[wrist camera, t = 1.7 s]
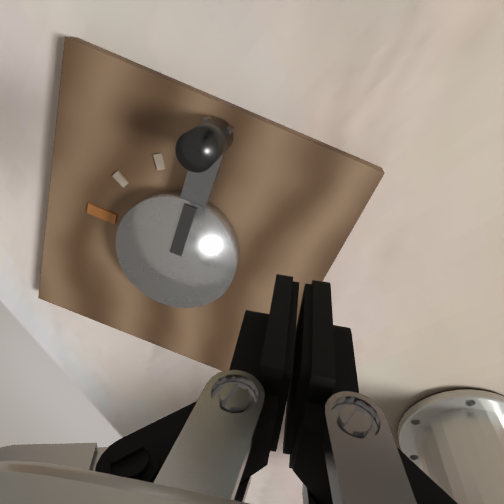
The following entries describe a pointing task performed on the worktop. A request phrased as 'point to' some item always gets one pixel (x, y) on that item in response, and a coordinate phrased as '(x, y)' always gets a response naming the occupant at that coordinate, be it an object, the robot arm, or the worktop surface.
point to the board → (172, 178)
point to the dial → (183, 228)
